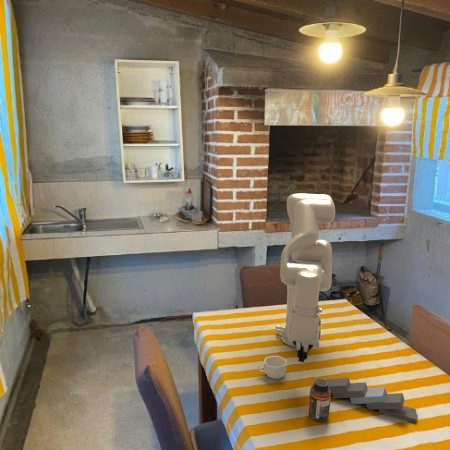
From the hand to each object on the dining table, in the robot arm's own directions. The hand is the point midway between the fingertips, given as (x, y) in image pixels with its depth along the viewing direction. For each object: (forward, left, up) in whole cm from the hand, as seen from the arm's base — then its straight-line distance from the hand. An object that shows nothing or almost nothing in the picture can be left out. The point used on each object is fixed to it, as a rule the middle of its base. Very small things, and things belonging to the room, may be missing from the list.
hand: (302, 360), depth 134 cm
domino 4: (+22, -1, -8) cm, 23 cm away
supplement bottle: (+10, -14, -9) cm, 19 cm away
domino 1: (+6, 0, -8) cm, 10 cm away
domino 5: (+25, -1, -8) cm, 27 cm away
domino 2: (+11, 0, -8) cm, 14 cm away
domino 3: (+17, -1, -8) cm, 19 cm away
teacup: (-10, 0, -9) cm, 13 cm away
